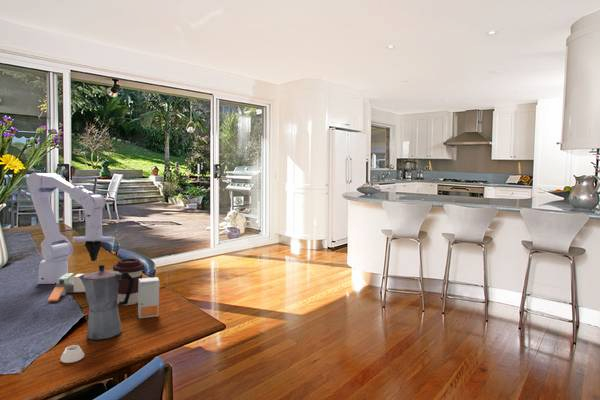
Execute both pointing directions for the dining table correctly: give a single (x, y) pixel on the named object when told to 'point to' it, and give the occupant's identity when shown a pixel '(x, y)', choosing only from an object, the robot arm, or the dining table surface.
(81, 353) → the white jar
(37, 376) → the dining table surface
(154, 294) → the skincare box
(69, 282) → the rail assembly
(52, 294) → the lever
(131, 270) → the coffee cup
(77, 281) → the carriage
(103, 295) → the moka pot
